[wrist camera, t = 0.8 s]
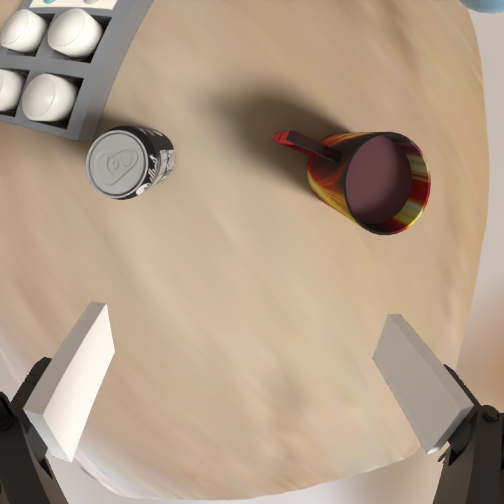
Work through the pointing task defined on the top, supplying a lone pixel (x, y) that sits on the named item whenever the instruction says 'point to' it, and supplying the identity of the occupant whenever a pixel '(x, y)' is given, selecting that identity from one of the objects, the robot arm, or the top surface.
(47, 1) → the board
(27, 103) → the button
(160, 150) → the beverage can
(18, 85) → the button
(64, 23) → the button
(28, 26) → the button
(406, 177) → the mug
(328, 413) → the top surface
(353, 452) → the top surface
